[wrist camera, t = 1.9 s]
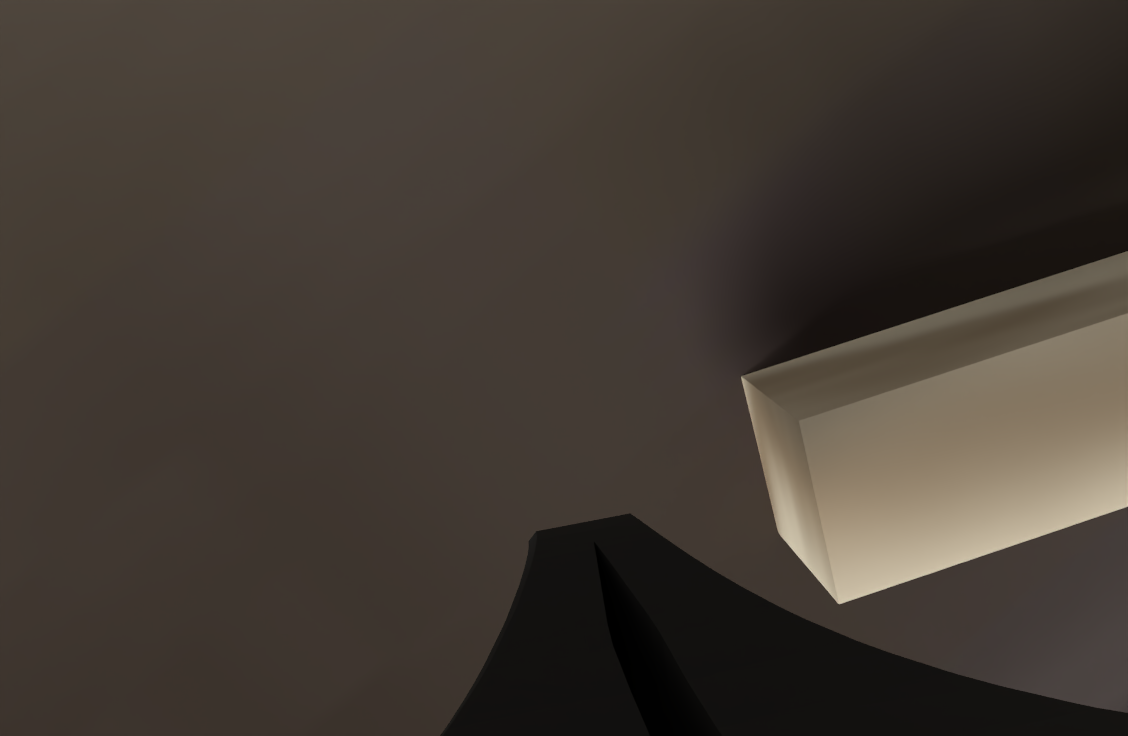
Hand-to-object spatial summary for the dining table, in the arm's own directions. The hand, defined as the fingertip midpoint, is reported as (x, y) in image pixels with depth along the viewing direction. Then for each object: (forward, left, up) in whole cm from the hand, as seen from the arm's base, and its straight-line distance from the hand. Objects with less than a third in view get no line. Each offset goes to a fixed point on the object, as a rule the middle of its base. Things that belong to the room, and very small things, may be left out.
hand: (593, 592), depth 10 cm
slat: (0, -10, -6) cm, 12 cm away
